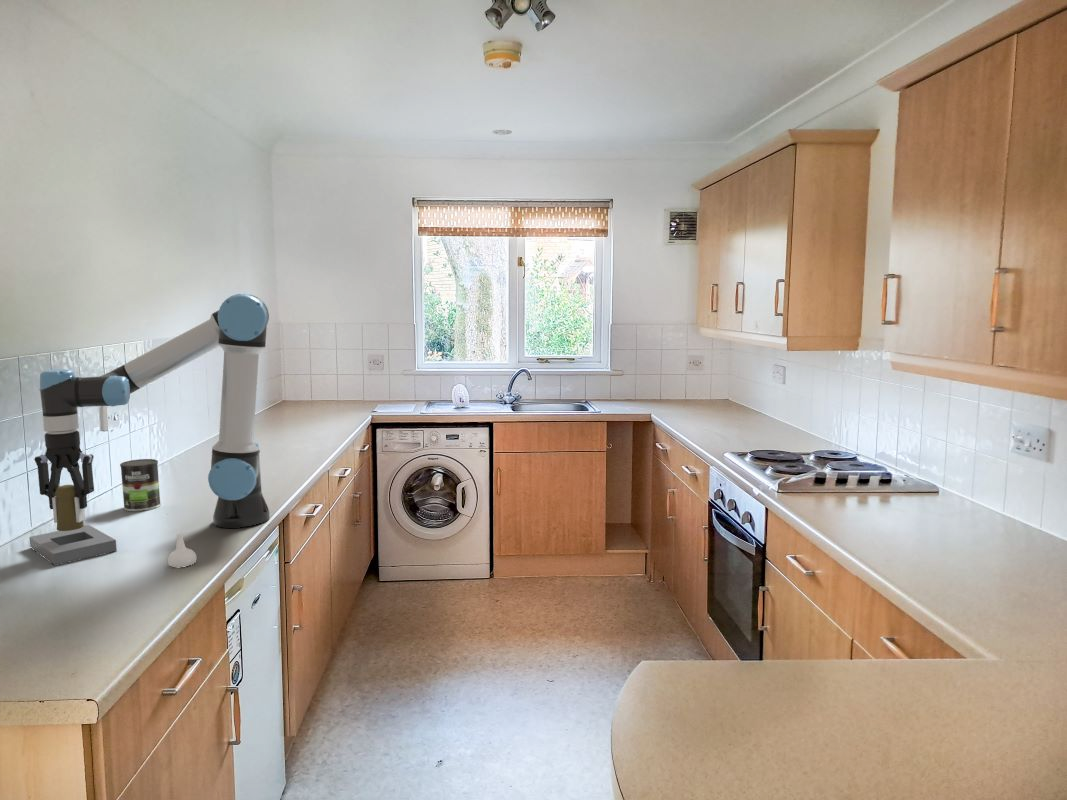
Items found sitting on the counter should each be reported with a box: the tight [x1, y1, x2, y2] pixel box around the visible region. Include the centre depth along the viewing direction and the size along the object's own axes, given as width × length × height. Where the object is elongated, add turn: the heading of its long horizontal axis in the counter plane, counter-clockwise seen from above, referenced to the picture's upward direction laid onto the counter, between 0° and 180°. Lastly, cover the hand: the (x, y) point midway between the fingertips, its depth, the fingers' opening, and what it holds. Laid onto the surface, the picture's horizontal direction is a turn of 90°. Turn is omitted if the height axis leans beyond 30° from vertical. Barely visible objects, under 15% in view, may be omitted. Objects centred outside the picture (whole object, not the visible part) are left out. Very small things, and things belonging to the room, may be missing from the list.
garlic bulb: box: [167, 532, 197, 568], centre depth 187 cm, size 6×6×8 cm
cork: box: [55, 484, 85, 531], centre depth 198 cm, size 6×6×11 cm
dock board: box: [29, 524, 118, 566], centre depth 199 cm, size 20×14×3 cm
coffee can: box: [119, 458, 162, 512], centre depth 238 cm, size 10×10×14 cm
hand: (69, 520), depth 198 cm, fingers closed on cork, 5 cm apart
